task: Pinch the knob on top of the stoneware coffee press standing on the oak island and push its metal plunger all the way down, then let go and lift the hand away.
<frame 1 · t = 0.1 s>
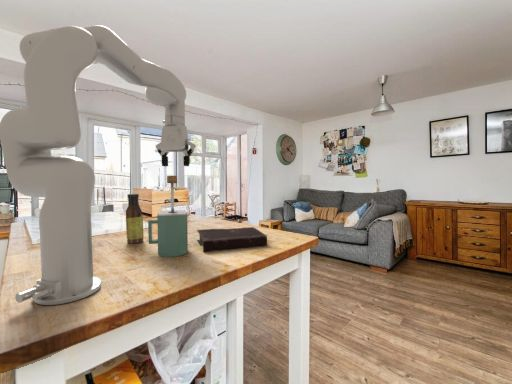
hand: (175, 166, 99), 31 cm above the table, fingers open, 9 cm apart
sauce bottle: (135, 242, 102), on the table
press carafe: (173, 252, 89), on the table
plunger: (172, 197, 87), point 20 cm above the table, slide at 0.0 cm
diary: (230, 244, 102), on the table
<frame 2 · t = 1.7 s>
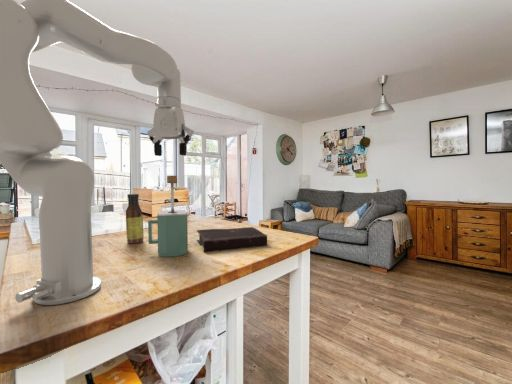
hand: (170, 155, 86), 34 cm above the table, fingers open, 9 cm apart
nothing on the table moved.
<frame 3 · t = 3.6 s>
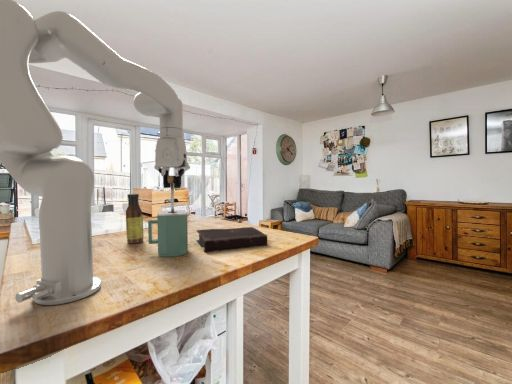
hand: (172, 187, 87), 23 cm above the table, fingers closed on plunger, 3 cm apart
plunger: (172, 197, 87), point 20 cm above the table, slide at 0.0 cm, touching gripper
everything else where it was.
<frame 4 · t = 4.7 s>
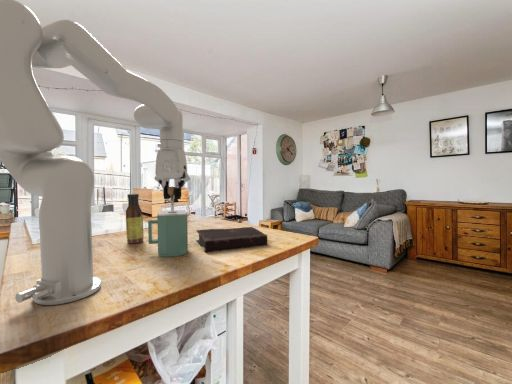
hand: (172, 198, 87), 19 cm above the table, fingers closed on plunger, 3 cm apart
plunger: (172, 208, 88), point 16 cm above the table, slide at 4.0 cm, touching gripper
everything else where it was.
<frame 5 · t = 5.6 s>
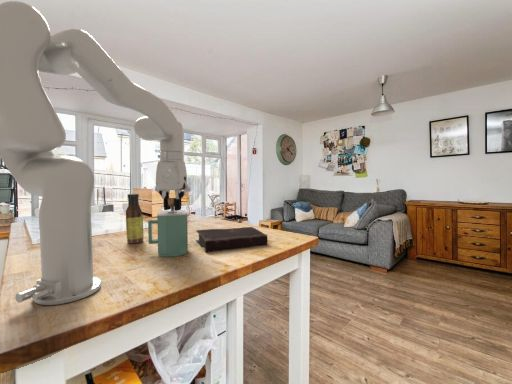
hand: (172, 209, 88), 16 cm above the table, fingers closed on plunger, 3 cm apart
plunger: (172, 219, 88), point 12 cm above the table, slide at 7.8 cm, touching gripper
everything else where it was.
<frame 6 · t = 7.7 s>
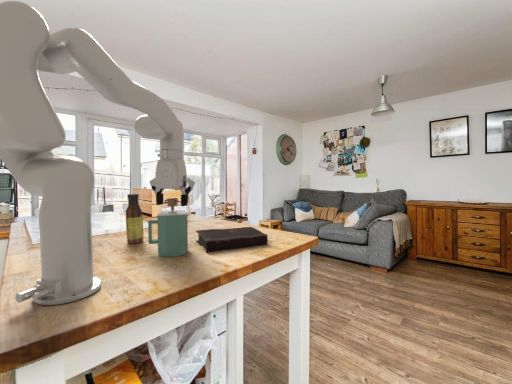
hand: (171, 205, 87), 17 cm above the table, fingers open, 9 cm apart
plunger: (172, 219, 88), point 12 cm above the table, slide at 7.9 cm
everything else where it was.
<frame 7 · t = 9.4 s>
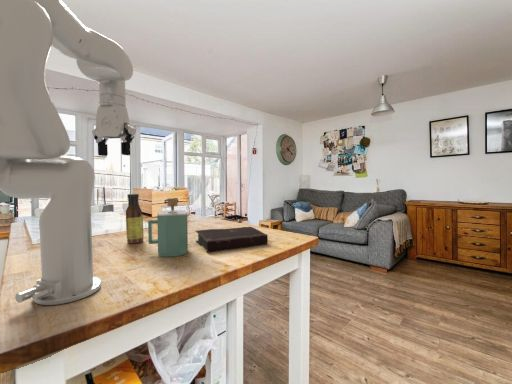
hand: (114, 155, 83), 34 cm above the table, fingers open, 9 cm apart
nothing on the table moved.
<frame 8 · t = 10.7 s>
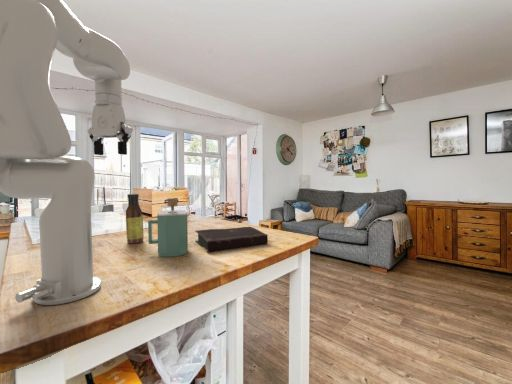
hand: (110, 154, 83), 34 cm above the table, fingers open, 9 cm apart
nothing on the table moved.
at the end: plunger slide at 7.9 cm; the gripper is holding nothing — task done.
